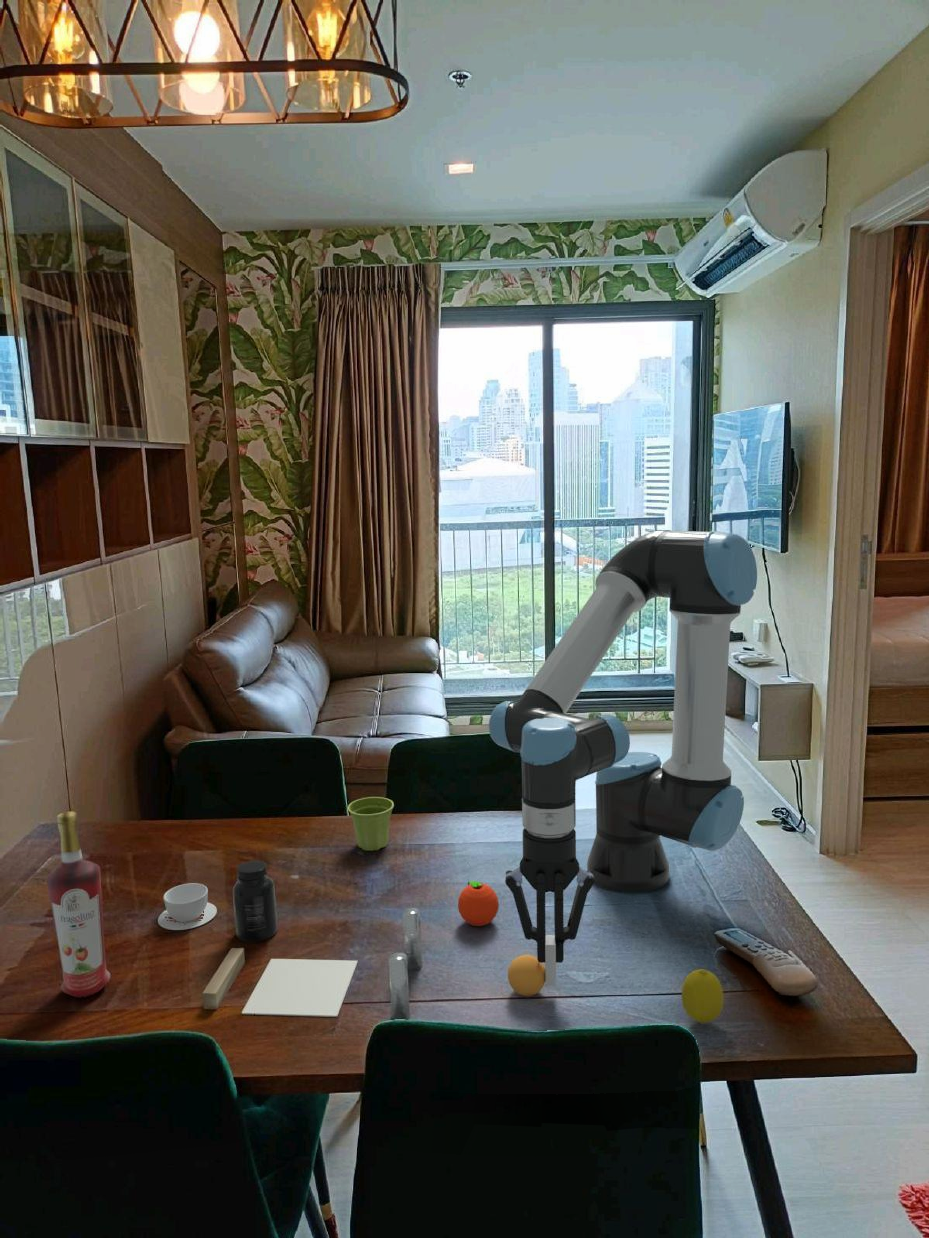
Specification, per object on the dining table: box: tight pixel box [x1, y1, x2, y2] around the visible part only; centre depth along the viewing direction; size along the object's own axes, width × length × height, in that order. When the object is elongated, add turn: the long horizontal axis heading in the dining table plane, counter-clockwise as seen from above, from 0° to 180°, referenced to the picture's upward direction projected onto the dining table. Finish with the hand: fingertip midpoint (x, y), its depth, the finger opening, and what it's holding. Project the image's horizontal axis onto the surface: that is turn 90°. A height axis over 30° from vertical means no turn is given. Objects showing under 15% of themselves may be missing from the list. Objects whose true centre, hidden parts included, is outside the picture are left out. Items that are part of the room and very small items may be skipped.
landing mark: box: [241, 958, 359, 1018], centre depth 131 cm, size 14×14×1 cm
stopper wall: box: [202, 947, 246, 1010], centre depth 132 cm, size 2×12×2 cm, turn 175°
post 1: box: [388, 952, 411, 1021], centre depth 123 cm, size 3×3×9 cm
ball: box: [507, 954, 546, 997], centre depth 128 cm, size 6×6×6 cm
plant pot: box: [347, 796, 395, 852], centre depth 180 cm, size 9×9×9 cm
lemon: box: [681, 968, 724, 1025], centre depth 119 cm, size 6×6×8 cm
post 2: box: [402, 907, 423, 971], centre depth 135 cm, size 3×3×9 cm
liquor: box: [46, 811, 111, 999], centre depth 130 cm, size 7×7×28 cm
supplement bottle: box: [232, 860, 278, 943], centre depth 146 cm, size 7×7×12 cm
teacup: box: [157, 882, 218, 931], centre depth 153 cm, size 10×10×5 cm
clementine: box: [457, 880, 500, 927], centre depth 148 cm, size 8×7×7 cm
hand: (550, 980), depth 127 cm, fingers closed
